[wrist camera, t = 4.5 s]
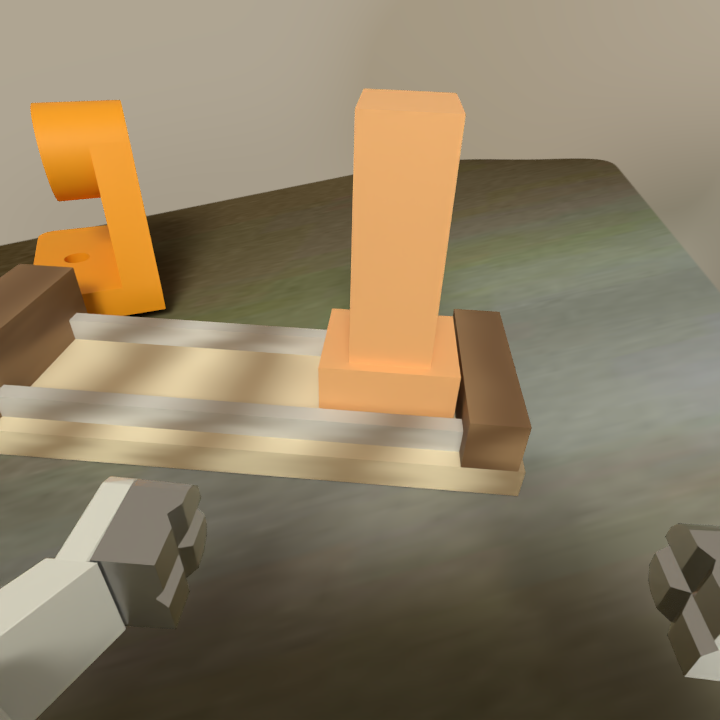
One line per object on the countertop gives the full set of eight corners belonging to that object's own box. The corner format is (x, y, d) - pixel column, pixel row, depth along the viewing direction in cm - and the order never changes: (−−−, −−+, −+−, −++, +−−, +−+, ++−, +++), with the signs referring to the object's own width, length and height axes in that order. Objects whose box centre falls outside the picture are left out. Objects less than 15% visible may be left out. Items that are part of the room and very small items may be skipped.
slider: (318, 420, 24) (313, 109, 16) (332, 357, 28) (332, 85, 20) (451, 430, 24) (508, 119, 16) (445, 365, 28) (488, 92, 20)
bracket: (50, 266, 39) (-11, 89, 32) (151, 253, 42) (115, 85, 35) (42, 341, 31) (-41, 127, 24) (168, 319, 34) (125, 119, 27)
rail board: (-77, 447, 24) (-133, 359, 21) (36, 339, 31) (6, 263, 28) (517, 496, 23) (545, 409, 20) (491, 372, 30) (508, 295, 27)
